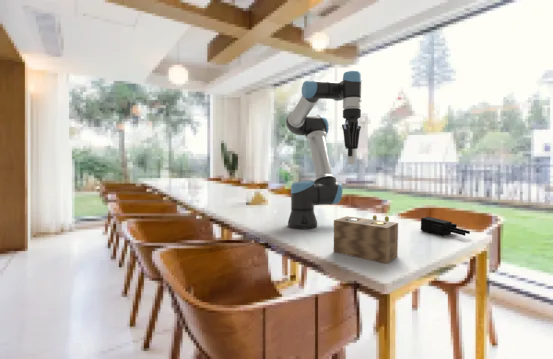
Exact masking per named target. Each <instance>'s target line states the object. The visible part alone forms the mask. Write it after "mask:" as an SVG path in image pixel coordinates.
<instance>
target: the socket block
mask: <svg viewBox="0 0 553 359" xmlns="http://www.w3.org/2000/svg"><path fill="white" fill-rule="evenodd" d="M350 218H353V219H357V221H348V219H350ZM374 222H383V223H384V225H376V224H373V223H374ZM398 237H399V223H398V222H393V221H388V222H387V221H385V220H378V219H377V220H373V218H372V219H371V218H370V219H369V218H364V217H363V218H362V217H354V216H348V215H347V216H344V217H341V218H337V219H334V220H333V253H336V252H337V253H338V254H341V253H342V254H341V255H345V254H347V256H350V255H351V257H354V256H355V257H356V258H359V259H365V260H368V261H371V262H372V261H373V262H378V263H382V264H389V263H390V262H391V261H392V260H394V259H395V258H398V248H399V246H398V245H399V242H398V241H399V238H398ZM337 253H336V254H337ZM355 257H354V258H355Z"/></svg>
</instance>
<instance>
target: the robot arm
mask: <svg viewBox="0 0 553 359" xmlns="http://www.w3.org/2000/svg"><path fill="white" fill-rule="evenodd" d="M320 99H321V100H322V99H325V100H334V101H336V102H338V101H342V109H343V110H342V119H345V120H344V124H343V123H342V124H341V128H342V131H343V132H342V133H343V139H344V140H343V141H344V148H345V150H347V165H355V164H356V150H358V147H359V140H360V135H361V134H360V133H361V129H362V126H360V125H359V120H358V119H360V118H361V117H362V109H361V107H362V73H361V72H360V71H359V70H348V71H345V72H344V73H343V75H342V80H341V81H325V80H323V81H322V80H313V79H312V80H305V81H304V82H303V83H302V86H301V97H300V99H299V101H298V102H297V104H296V105H295V106H294V109H292V111H290V112H289V113H288V114H287V116H286V119H285V124H286V127H287V129H288V130H289V132H291V133H292V135H293V134H294V135H296V136H305V139H306V141H308V142H309V146H310V147H309V148H310V152H311V157H312V162H313V169H314V174H315V180H312V179H311V180H310V179H307V180H299V181H296V182H295V181H294V182H293V183H292V184H291V185H290V187H291V188H290V209H291V211H290V215H289V218H288V220H287V227H288V228H290V229H295V230H296V229H297V230H310V229H311V230H312V229H315V228H317V227H318V221H317V216H316V213H315V209H314V208H315V206H328V205H329V206H332V205H337V204H339V203H341V201H342V197H343V185H342V183H341V182H340V181H337V179H336V176H334V175H333V173H332V169H331V164H330V163H331V162H330V159H329V154H328V149H327V145H326V144H327V143H326V137H327V135H328V134H329V126H330V125H329V122H328V119H327V118H326V116H325V115H322V114H321V115H320V114H310V112H311V111H312V109H314V107H315V105H316V104H317V103H318V101H319V100H320Z"/></svg>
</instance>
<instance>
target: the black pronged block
mask: <svg viewBox="0 0 553 359" xmlns="http://www.w3.org/2000/svg"><path fill="white" fill-rule="evenodd" d="M420 218H421V219H420V231H423V232H427V233H431V234H434V235H437V236H442V237H445V236H449V235H452V233H453V234H456V235H460V236H466V234H467V235H470V234H471V233H470V232H471V231H470V230H466V229H462V228H457V223H452V221H449V220H444V219H441V218H436V217H432V216H426V217H420Z"/></svg>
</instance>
